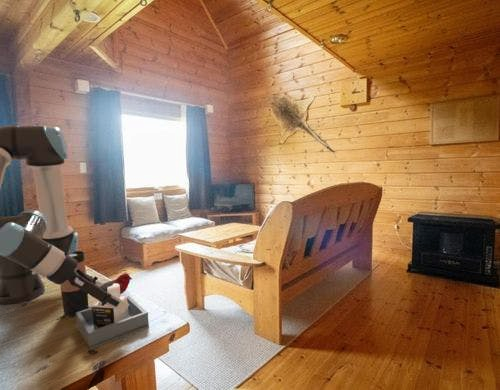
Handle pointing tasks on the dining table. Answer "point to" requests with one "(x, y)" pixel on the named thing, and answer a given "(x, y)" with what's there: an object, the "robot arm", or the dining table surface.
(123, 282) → the decorative bird figurine
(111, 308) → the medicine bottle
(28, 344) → the dining table surface
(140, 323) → the open-top bin
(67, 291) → the travel mug
